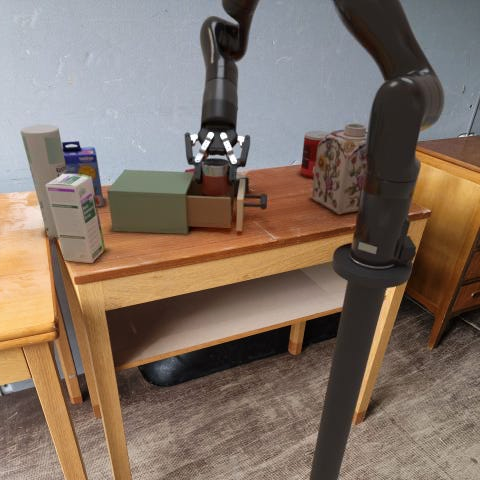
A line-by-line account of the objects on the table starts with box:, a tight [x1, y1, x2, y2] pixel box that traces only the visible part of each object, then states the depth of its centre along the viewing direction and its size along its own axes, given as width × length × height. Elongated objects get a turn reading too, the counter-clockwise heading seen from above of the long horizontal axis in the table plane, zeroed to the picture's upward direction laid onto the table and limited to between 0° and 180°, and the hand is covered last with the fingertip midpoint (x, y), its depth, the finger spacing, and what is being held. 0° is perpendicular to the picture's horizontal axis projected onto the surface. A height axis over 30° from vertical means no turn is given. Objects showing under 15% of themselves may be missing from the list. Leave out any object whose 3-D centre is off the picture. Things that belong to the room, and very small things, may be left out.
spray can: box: [20, 124, 67, 239], centre depth 86 cm, size 6×6×20 cm
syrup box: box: [45, 174, 106, 264], centre depth 79 cm, size 6×6×14 cm
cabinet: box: [106, 169, 195, 235], centre depth 95 cm, size 16×14×9 cm
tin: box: [201, 157, 230, 197], centre depth 92 cm, size 6×6×8 cm
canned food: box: [300, 130, 331, 180], centre depth 123 cm, size 8×8×11 cm
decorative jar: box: [311, 122, 368, 216], centre depth 103 cm, size 12×12×18 cm
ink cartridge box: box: [61, 140, 105, 208], centre depth 100 cm, size 10×6×14 cm, turn 108°
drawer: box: [186, 179, 268, 232], centre depth 95 cm, size 19×12×7 cm, turn 87°
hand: (214, 183), depth 91 cm, fingers closed on tin, 6 cm apart
